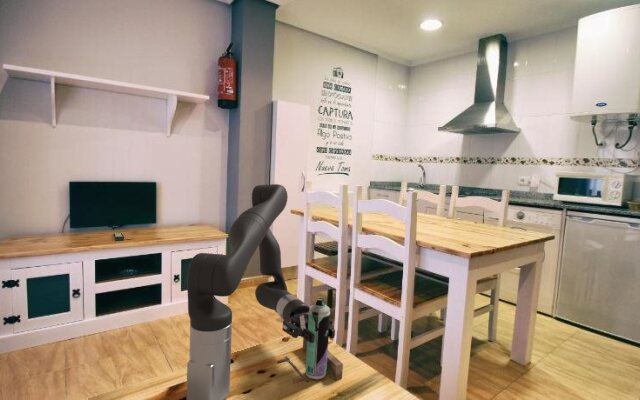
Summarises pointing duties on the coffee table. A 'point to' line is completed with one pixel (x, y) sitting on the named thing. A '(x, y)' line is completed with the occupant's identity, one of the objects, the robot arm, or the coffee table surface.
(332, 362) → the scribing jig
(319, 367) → the spray can
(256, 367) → the coffee table surface
